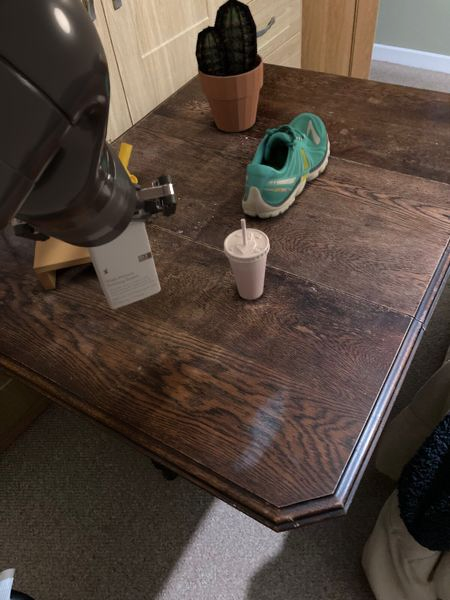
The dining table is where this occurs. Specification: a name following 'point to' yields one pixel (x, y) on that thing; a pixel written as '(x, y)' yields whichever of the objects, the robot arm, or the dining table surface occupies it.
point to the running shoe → (285, 165)
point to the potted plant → (230, 67)
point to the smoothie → (247, 259)
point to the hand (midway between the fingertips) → (112, 221)
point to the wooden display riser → (56, 259)
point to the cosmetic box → (126, 267)
